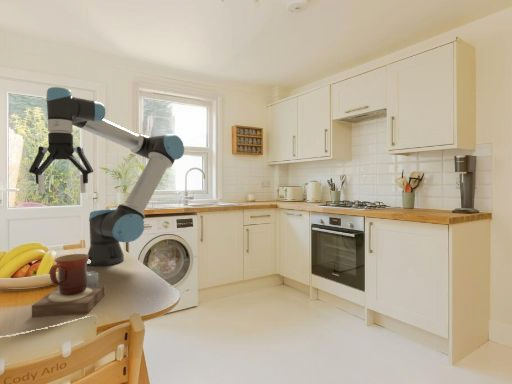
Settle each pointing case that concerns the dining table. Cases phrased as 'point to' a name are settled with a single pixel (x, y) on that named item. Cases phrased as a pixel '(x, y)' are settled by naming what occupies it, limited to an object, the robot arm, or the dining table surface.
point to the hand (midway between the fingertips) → (62, 193)
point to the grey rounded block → (92, 278)
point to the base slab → (68, 302)
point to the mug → (70, 273)
